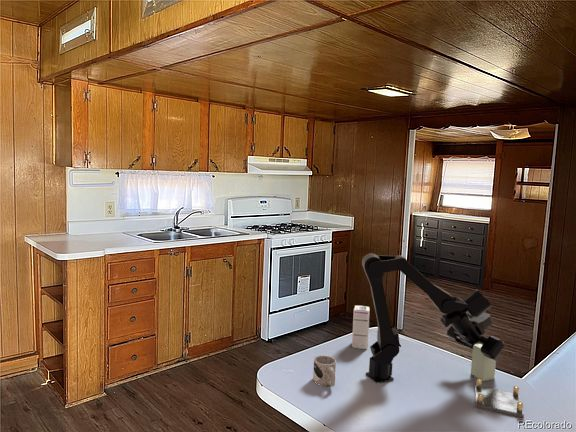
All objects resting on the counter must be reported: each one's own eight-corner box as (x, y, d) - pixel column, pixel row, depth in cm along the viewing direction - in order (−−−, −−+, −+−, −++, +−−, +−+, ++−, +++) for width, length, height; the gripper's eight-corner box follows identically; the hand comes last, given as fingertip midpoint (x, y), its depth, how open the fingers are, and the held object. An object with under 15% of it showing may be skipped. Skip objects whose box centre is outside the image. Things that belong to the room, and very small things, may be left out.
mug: (309, 377, 139) (310, 356, 138) (329, 374, 141) (330, 354, 141) (322, 392, 130) (324, 370, 129) (343, 389, 132) (344, 368, 131)
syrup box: (367, 349, 162) (370, 310, 161) (351, 347, 164) (353, 309, 162) (368, 343, 168) (370, 306, 167) (352, 341, 169) (354, 304, 168)
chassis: (523, 417, 121) (524, 405, 120) (475, 407, 125) (476, 395, 125) (518, 397, 132) (519, 386, 132) (474, 388, 136) (475, 377, 136)
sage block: (482, 381, 142) (485, 350, 141) (470, 374, 146) (473, 344, 145) (494, 378, 144) (497, 348, 143) (481, 372, 148) (484, 343, 147)
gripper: (502, 314, 132) (525, 345, 137) (456, 296, 149) (478, 325, 155) (480, 343, 130) (504, 374, 135) (435, 322, 147) (459, 350, 152)
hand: (486, 354), depth 144 cm, fingers open, 9 cm apart
